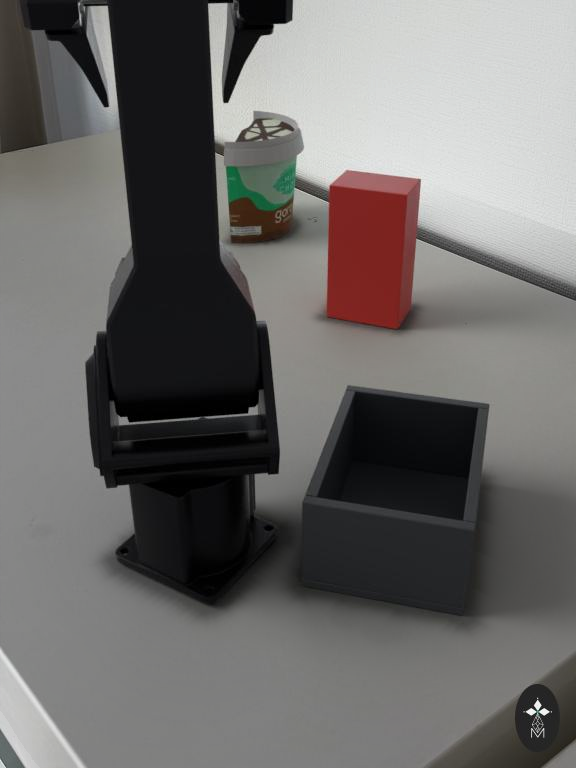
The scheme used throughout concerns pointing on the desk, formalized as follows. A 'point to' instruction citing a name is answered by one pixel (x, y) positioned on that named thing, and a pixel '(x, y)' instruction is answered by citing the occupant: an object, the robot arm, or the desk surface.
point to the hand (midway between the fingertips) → (166, 102)
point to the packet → (371, 247)
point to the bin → (396, 499)
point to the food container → (262, 177)
